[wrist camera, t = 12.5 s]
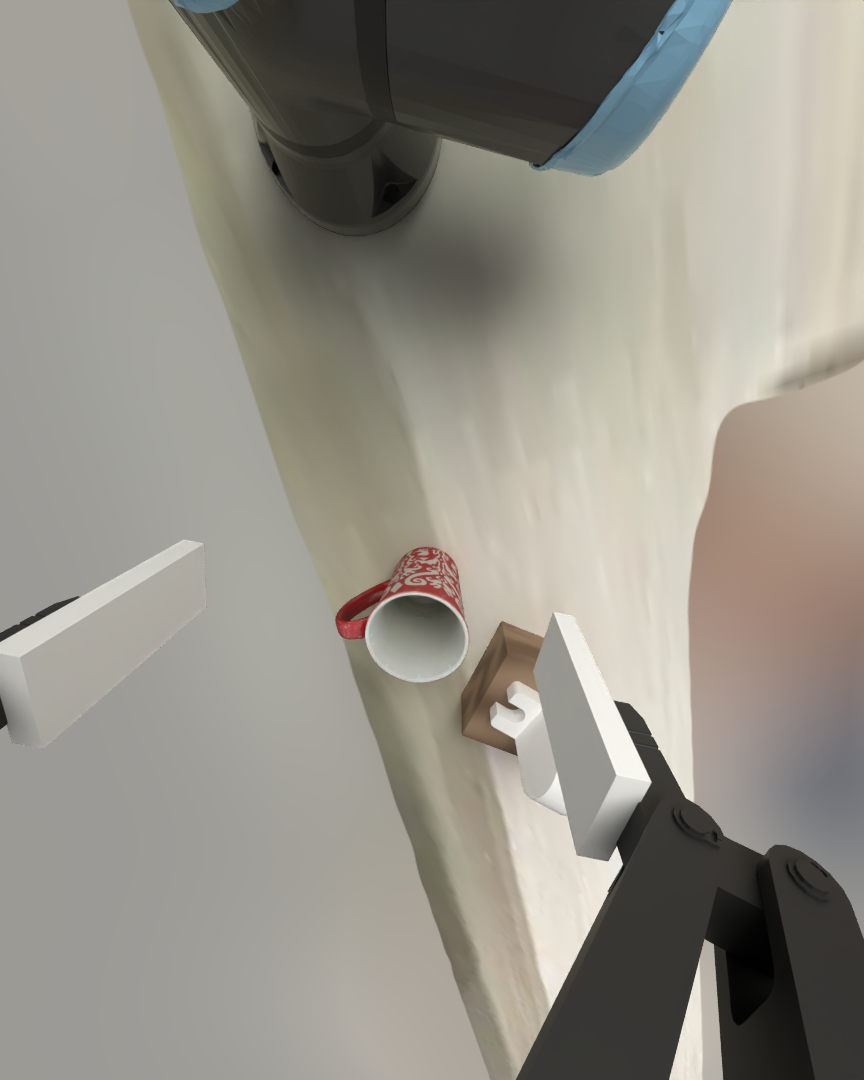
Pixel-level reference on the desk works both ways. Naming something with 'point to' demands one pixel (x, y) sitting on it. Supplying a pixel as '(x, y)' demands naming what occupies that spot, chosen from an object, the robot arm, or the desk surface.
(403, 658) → the mug
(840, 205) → the desk surface
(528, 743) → the cable organizer
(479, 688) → the walnut block
